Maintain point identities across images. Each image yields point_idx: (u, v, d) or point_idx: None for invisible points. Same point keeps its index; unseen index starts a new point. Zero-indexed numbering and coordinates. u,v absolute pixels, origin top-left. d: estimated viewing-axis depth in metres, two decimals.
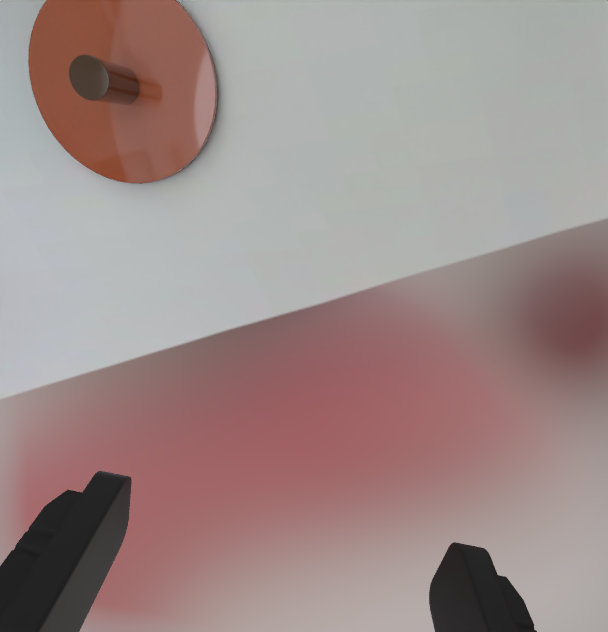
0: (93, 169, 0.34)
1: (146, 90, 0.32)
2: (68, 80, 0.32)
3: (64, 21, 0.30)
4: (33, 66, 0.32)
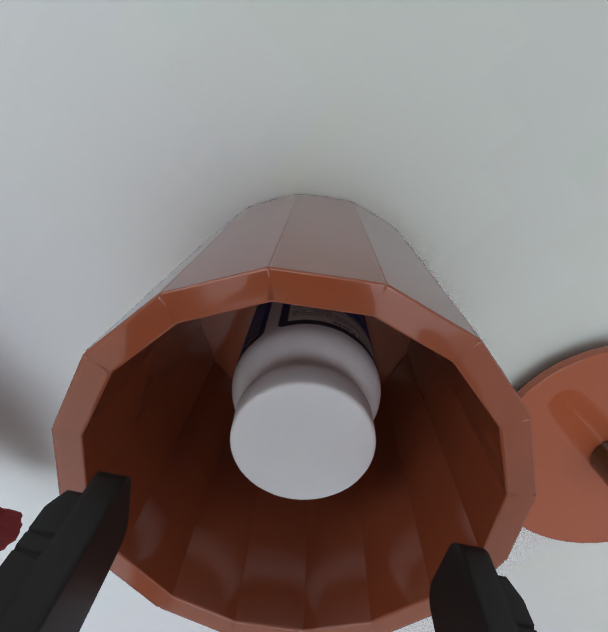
0: (577, 541, 0.27)
1: None
2: (540, 474, 0.25)
3: None
4: None
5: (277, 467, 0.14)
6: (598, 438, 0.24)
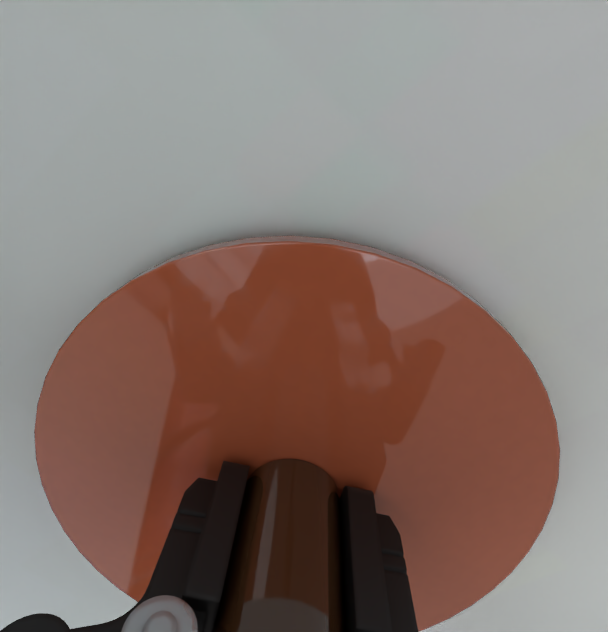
0: None
1: (356, 482, 0.11)
2: (162, 529, 0.12)
3: (98, 430, 0.11)
4: (77, 534, 0.13)
5: None
6: (247, 458, 0.11)
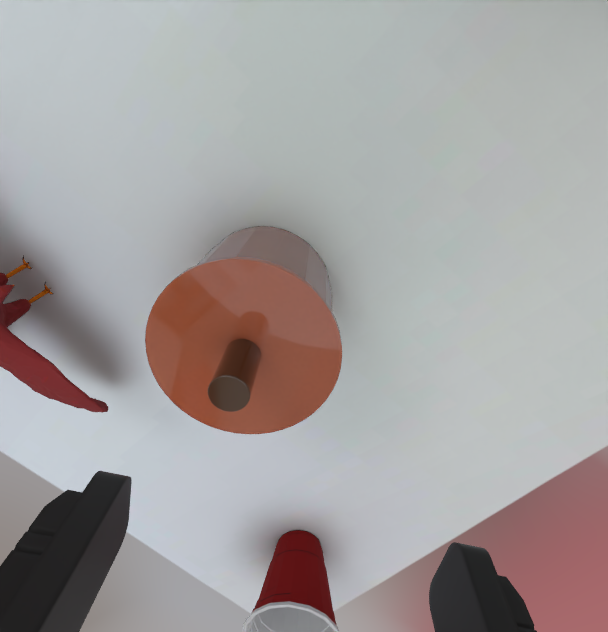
0: (244, 432, 0.33)
1: (267, 348, 0.30)
2: (193, 372, 0.31)
3: (170, 327, 0.30)
4: (158, 375, 0.31)
5: None
6: (225, 339, 0.30)
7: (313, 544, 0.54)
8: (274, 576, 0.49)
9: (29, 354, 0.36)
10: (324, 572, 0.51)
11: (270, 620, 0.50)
